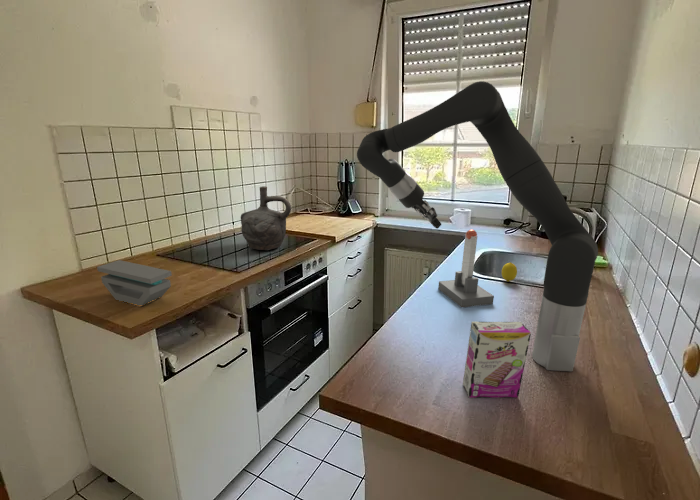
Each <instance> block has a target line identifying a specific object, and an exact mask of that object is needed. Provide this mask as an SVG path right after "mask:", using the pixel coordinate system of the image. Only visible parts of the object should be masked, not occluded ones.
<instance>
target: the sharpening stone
mask: <svg viewBox="0 0 700 500" xmlns="http://www.w3.org/2000/svg"><path fill="white" fill-rule="evenodd" d="M96 269H97V272H100V273H104V274H105V275H102V276H101V277H100V278H101V283H102V285H104V286H105V288H106V289H107V290H108V292H109V293H110V294H111V296H112V297H113V298H114V299H115V300H119V301H118V302H120V301H124V302H128V303H133V304H137V305H144V304H146V303H148V302H150V301H152V300H155V299H157V298H159V297H161V298H162V297H163V296H164V295H165V294H166V292H168V290H169V289H170V288H171V287H172V286H171V285H172V284H171V280H170V279H167V278H170V277H172V275H173V274H172V270H168V269H163V268H157V267H154V266H150V265H144V264H139V263H134V262H131V261H130V262H129V261H124V260H122V259H119V260H114V261H112V262H108V263H106V264H102V265H98V266H96ZM159 299H160V298H159ZM157 300H158V299H157ZM155 301H156V300H155ZM124 302H123V303H124ZM150 303H151V302H150ZM148 304H149V303H148ZM146 305H147V304H146ZM144 306H145V305H144Z"/></svg>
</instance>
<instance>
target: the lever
mask: <svg viewBox="0 0 700 500" xmlns="http://www.w3.org/2000/svg"><path fill="white" fill-rule="evenodd" d="M464 236H465V237H464V245H463V253H462V254H463V255H462V262H461V270H460V271H461V279H460V283H461V284H462V285H463V286H465V278H472V277H474V276H473V275H474V268H475V259H476V250H477V243H478V233H477V231H476V230H475V229H469V230H467V231H466V233H465V235H464Z"/></svg>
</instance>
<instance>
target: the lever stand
mask: <svg viewBox="0 0 700 500" xmlns="http://www.w3.org/2000/svg"><path fill="white" fill-rule="evenodd" d="M454 273H455V274H454V275H455V276H454V279H450V280H441V281H440V280H439V281H438V287H437V289H438V290H439V291H440V292H442V294H444V295H445V296H446V297H448V298H449V299H450V300H451V301H453V302H454V303H455V304H456V305H458V307H460V308H471V307H480V306H487V305H493V304H494V298H495V296H494V295H493V294H491V292H489V291H488V290H485V289H484V288H483V287H481V286H480V285H478V284H479V278H478V277H476V276H473V277H472V278H465V286H463V285H462V284H461V283H460V279H461V270H460V271H459V270H458V271H455V272H454Z"/></svg>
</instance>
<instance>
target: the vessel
mask: <svg viewBox="0 0 700 500" xmlns="http://www.w3.org/2000/svg"><path fill="white" fill-rule="evenodd" d="M259 201H260V202H259V206H258V208H256V209H252V210H248V211H245V212H243V213H241V215H240V223H241V225H240V226H241V228H240V230H241V234H242V236H243V238H244V239H245V240H246V243H247V245H248V247H249V248H250V249H252V250H257V251H270V250H274V249H277V248H279V247H281V246H282V244H283V243H284V240H285V237H286V230H287V217H289V215H290V214H291V212H292V205H291V202H290V200H288V199H287V198H286V197H284V196H282V195H271V196H270V195H269V196H268V186H260V187H259ZM271 202H281V203H283V204H284V205H285V210H284V211H283V212H280V211H278V210H274V209H271V208H269V207H268V203H271Z"/></svg>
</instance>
